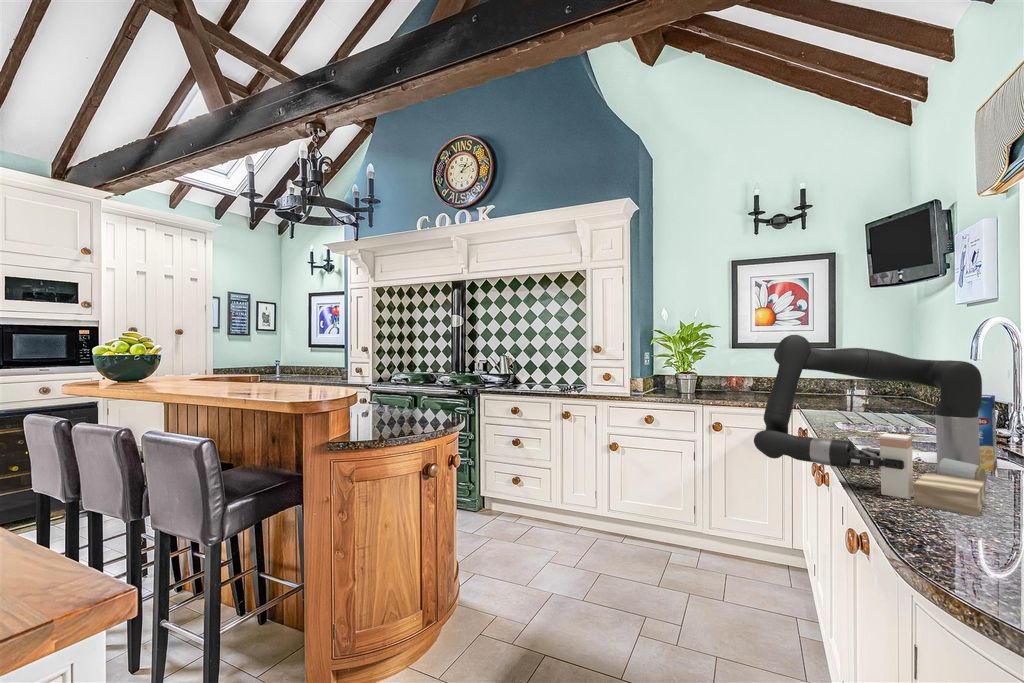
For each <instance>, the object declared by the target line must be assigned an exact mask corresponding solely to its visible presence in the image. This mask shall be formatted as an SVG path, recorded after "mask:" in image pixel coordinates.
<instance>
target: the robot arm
mask: <svg viewBox="0 0 1024 683" xmlns="http://www.w3.org/2000/svg"><path fill="white" fill-rule="evenodd" d="M773 357H774V361H775V362H776V363H777V364H778V368H777V373H776V377H775V379H774V382H773V385H772V387H771V390H770V393H769V396H768V398H767V403H766V406H765V410H764V413H763V421H764V424H765V429H764V430H760V431H758V432H757V433H756V434H755V435H754V436H753V437H754V438H753V444H754V446H755V448H756V449H757V450H758V451H760V452H761V453H762V454H763V455H764V456H766V457H768V458H770V459H779V458H781V457H783V456H787V457H790V458H792V459H794V460H797V461H802V462H809V463H815V464H819V465H823V466H828V467H834V468H836V467H837V468H843V469H849V470H851V469H852V468H853V467H854V466H856V467H864V468H871V469H876V470H878V469H881V468H885V467H887V468H894V469H901V470H902V469H904V461H902V460H896V459H888V458H885V460H884V458H883V457H880V448H879V449H878V448H870V447H863V448H862V447H861V449H856V447H855V443H854V442H853V441H851V440H845V439H837V438H836V439H835V438H827V437H810V436H800V435H793V434H790V433H789V423H790V420H791V419H790V418H791V416H792V411H793V406H794V402H795V397H796V393H797V388H798V385H799V381H800V378H801V374H802V372H803V370H807V371H819V372H827V373H831V374H837V375H842V376H848V377H849V376H850V377H855V378H858V379H859V378H861V379H867V380H873V381H881V382H882V381H883V382H886V381H887V382H908V383H913V384H917V385H918V384H919V385H923V386H928V387H932V388H934V389H938V390H940V398H939V401H938V403H937V404H936V405H935V406H934V413H935V414H934V416H935V440H936V443H935V444H936V445H935V446H936V472H937V471H938V466H939V463H940V461H941V460H942V459H943V458H947V459H951V460H956V461H961V462H965V463H970V464H975V465H978V466H980V445H979V420H978V412H979V409H980V407H981V403H982V395H983V378H982V375H981V371H980V370H979V368H978V367H977V366H976V365H975V364H973V363H971V362H968V361H963V360H953V359H952V360H950V359H949V360H947V359H944V360H939V359H937V360H936V359H923V358H922V359H920V358H912V357H908V356H904V355H901V354H897V353H893V352H889V351H884V350H879V349H874V348H873V349H871V348H865V347H846V348H845V347H844V348H835V349H833V348H831V349H821V348H814V347H811V344H810V342H809V340H808V339H807V338H806V337H804V336H803V335H799V334H790V335H788V336H786V337H784V338H782V339H781V341H779V343H778V344H777V346H776V348H775V350H774V352H773ZM884 466H885V467H884Z"/></svg>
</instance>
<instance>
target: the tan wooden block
mask: <svg viewBox="0 0 1024 683" xmlns="http://www.w3.org/2000/svg"><path fill="white" fill-rule="evenodd" d="M913 490H914V495H913V505H915V506H920V507H925V508H931V509H936V510H941V511H948V512H952V513H958V514H963V515H967V516H968V515H969V516H974V517H979V515H980V513H981V511H982V509H983V508H984V506H985V504H986V503H987V502H986V484H985V481H978V480H971V479H964V478H957V477H950V476H943V475H937V474H935V473H927V472H925V473H924V474H922V475H921V476H920V477H919V478H918V479H917V480H915V481H914V482H913Z"/></svg>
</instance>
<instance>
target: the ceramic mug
mask: <svg viewBox="0 0 1024 683" xmlns="http://www.w3.org/2000/svg"><path fill="white" fill-rule="evenodd" d="M936 472H937V474H936V475H943V476H950V477H957V478H964V479H971V480H978V481H985V485H986V483H987V473H986V470H984V468H983V467H981V466H978V465H975V464H970V463H965V462H961V461H956V460H951V459H947V458H943V459H942V460H941V461H940V463H939V466H938V471H937V470H936Z"/></svg>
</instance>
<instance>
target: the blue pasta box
mask: <svg viewBox="0 0 1024 683" xmlns="http://www.w3.org/2000/svg"><path fill="white" fill-rule="evenodd" d="M978 420H979V445H980V466H981V467H983V468H984V470H985V471H990V472H991V471H992V472H994V471H996V469H997V468H998V453H997V452H998V449H997V423H996V422H997V421H996V395H993V394H992V395H991V394H982V403H981V407H980V409H979V412H978Z"/></svg>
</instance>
